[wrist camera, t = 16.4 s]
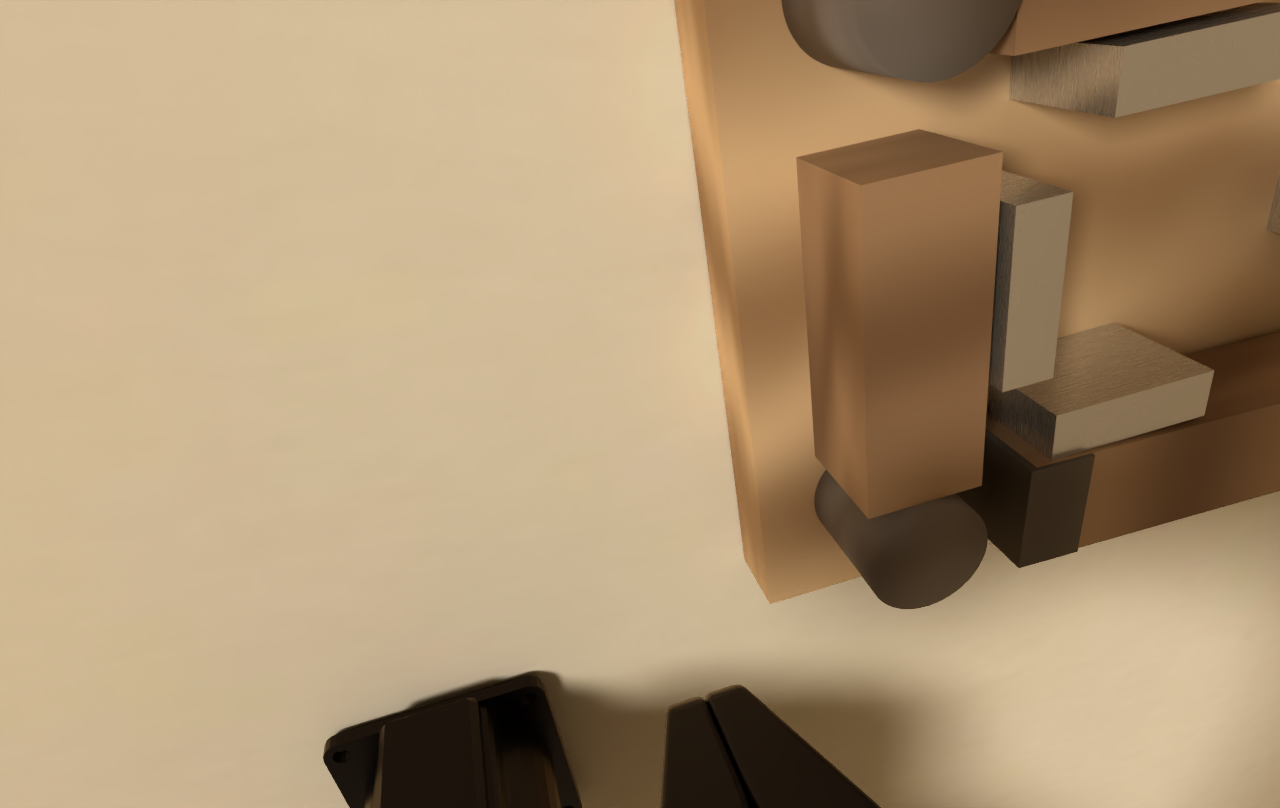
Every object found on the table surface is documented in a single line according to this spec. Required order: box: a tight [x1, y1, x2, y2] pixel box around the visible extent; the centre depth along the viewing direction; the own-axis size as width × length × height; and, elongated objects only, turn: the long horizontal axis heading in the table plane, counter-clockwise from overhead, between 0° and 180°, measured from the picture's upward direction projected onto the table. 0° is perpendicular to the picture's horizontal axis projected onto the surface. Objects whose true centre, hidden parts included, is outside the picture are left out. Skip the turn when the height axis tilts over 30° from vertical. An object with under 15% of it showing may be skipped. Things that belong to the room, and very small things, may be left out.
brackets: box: [987, 3, 1280, 461], centre depth 18 cm, size 9×11×3 cm
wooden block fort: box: [675, 0, 1280, 609], centre depth 18 cm, size 18×20×5 cm
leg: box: [956, 332, 1280, 568], centre depth 20 cm, size 13×3×3 cm, turn 97°
